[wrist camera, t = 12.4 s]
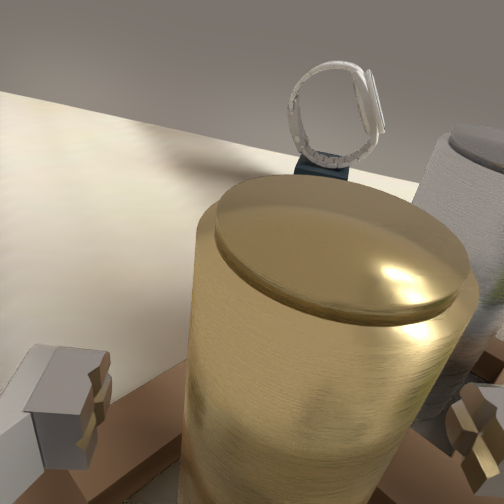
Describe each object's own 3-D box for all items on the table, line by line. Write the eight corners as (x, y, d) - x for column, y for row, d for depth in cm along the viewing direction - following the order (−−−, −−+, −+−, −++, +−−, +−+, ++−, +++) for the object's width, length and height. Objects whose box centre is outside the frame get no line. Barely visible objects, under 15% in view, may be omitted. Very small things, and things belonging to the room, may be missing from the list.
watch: (361, 218, 34) (405, 78, 28) (268, 197, 35) (291, 57, 29) (362, 193, 39) (400, 68, 33) (280, 175, 40) (302, 51, 34)
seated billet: (370, 324, 22) (463, 114, 16) (458, 375, 20) (607, 157, 14) (328, 374, 19) (424, 135, 12) (428, 443, 17) (606, 196, 10)
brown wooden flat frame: (347, 278, 26) (356, 248, 25) (555, 401, 20) (582, 368, 18) (8, 497, 13) (-7, 456, 12) (299, 1086, 6) (333, 1132, 5)
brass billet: (249, 437, 16) (311, 155, 10) (354, 540, 13) (526, 245, 7) (143, 530, 13) (137, 200, 7) (252, 689, 10) (406, 386, 4)
